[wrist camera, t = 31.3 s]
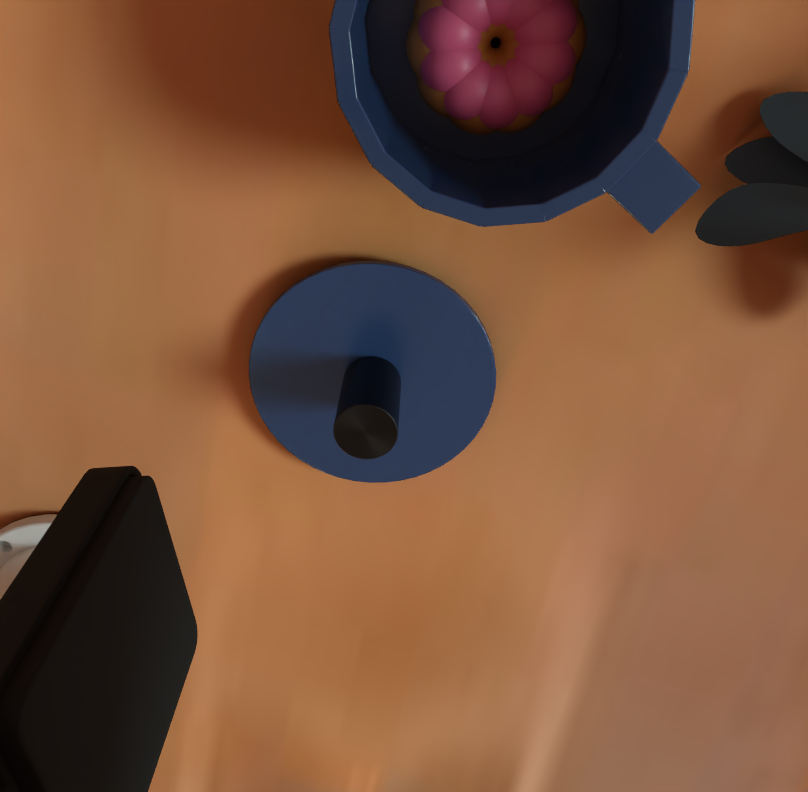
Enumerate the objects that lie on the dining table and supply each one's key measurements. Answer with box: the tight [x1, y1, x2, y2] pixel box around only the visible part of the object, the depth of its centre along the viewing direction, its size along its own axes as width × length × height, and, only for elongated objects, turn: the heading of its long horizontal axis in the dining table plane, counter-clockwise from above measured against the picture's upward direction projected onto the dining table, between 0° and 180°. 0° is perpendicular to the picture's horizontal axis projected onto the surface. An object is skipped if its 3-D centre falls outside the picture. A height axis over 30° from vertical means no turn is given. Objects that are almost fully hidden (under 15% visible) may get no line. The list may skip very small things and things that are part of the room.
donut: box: [406, 0, 587, 135], centre depth 31 cm, size 7×7×4 cm
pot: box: [329, 0, 701, 234], centre depth 29 cm, size 12×17×8 cm
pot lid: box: [249, 261, 496, 482], centre depth 38 cm, size 13×13×6 cm
